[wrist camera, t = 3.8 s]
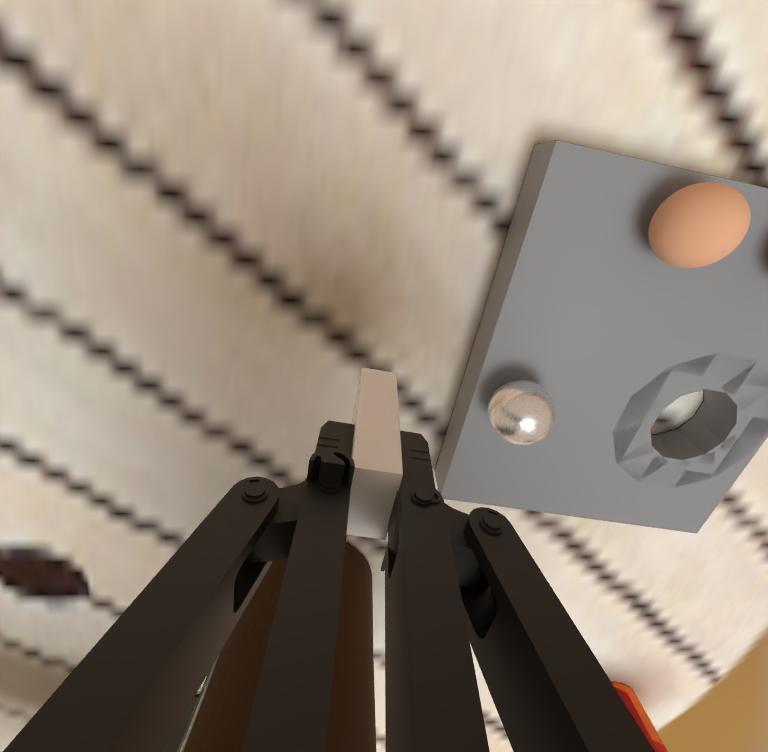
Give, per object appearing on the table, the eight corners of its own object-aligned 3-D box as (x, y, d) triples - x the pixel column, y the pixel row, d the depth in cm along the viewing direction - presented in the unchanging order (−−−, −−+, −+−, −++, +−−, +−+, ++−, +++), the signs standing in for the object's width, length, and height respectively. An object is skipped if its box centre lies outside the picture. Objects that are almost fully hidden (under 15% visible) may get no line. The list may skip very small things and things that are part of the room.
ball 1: (473, 417, 22) (487, 453, 19) (491, 364, 20) (509, 395, 18) (529, 426, 22) (552, 463, 19) (551, 374, 21) (579, 406, 18)
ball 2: (619, 252, 18) (665, 267, 15) (653, 174, 17) (711, 174, 14) (685, 266, 18) (742, 283, 15) (724, 189, 17) (794, 192, 14)
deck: (434, 470, 27) (439, 498, 24) (534, 144, 18) (556, 140, 16) (671, 504, 28) (696, 533, 26) (863, 218, 20) (924, 223, 18)
